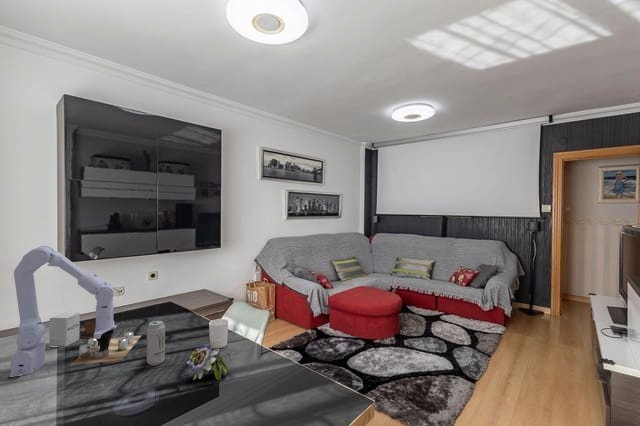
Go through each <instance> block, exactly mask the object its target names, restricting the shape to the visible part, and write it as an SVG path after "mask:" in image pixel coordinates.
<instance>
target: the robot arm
mask: <svg viewBox="0 0 640 426" xmlns="http://www.w3.org/2000/svg"><path fill="white" fill-rule="evenodd" d="M47 263H48V264H47ZM46 264H47V267H56V268H59V269H61V270H62V271H64V272H66V273H68V274H69V275H70V276H72V277H73V278H75V279H76V280H77V285H78V286H80V287H81V288H82V289H84V290H85V291H86V292H88V293H89V294H91V295H93V296H94V297H95V300H96V305H95V320H96V328H95V333H94V339H97V341H98V343H99V346H100V348H104V347H108V348H109V344H110V340H111V338H113V334H114V333H115V329H116V328H117V327H118V325H117V324H115V320H114V295H115V294H114V291H115V290H114V288H113V287H112V285H111V284H109V283H108V282H107V281H103V280H102V279H100V278H99V277H98V274H97V273H93V272H85V271H83V270H82V268H81V267H78V266H77V265H76V264H75V263H74V262H72V261H71V260H70V259H69V258H67V257H66V256H65V255H64V254H63V253H61V252H60V251H57V250H55V249H53V248H52V247H51V246H49V245H41V246H38V247H36V248H33V249H31V250H29V251H28V252H27V253H25V254H24V255H23V256H22V258H21V260H20V261H19V263H17V265H16V267H15V269H14V270H13V277H14V286H15V292H16V298H17V307H18V315H19V326H18V334H17V337H16V341H15V342H16V345H17V349H16V352H15V354H13V356H12V357H11V358H10V375H11V376H17V375H20V374H24V373H32V372H33V371H35V370H36V369H37V370H39V369H40V368H39V367H41V366H43V365H44V364H45V365H46V340H45V338H44V337H43V336H44V335H45V333H46V331H47V328H46V327H47V326H46V325H45V324H44V323H43V322H42V318H41V316H40V313H39V305H38V299H37V290H36V283H35V278H34V277H35V276H34V273H36V271H38V270H39V269H40V268H41V267H42V266H44V265H46ZM45 365H44V366H45ZM44 366H43V367H44ZM38 368H39V369H38ZM41 368H42V367H41ZM37 370H36V371H37ZM36 371H35V372H36ZM33 373H34V372H33ZM33 373H32V374H33Z"/></svg>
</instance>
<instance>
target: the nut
mask: <svg viewBox="0 0 640 426" xmlns="http://www.w3.org/2000/svg"><path fill="white" fill-rule="evenodd" d="M107 356H109V349H108V347H104V348H99V349H96V350H94V351H93V357H94V359H102V358H104V357H107Z"/></svg>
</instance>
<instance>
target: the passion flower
mask: <svg viewBox="0 0 640 426" xmlns="http://www.w3.org/2000/svg"><path fill="white" fill-rule="evenodd" d="M213 345H214V342H213V341H211V342H210V341H209V343H208V344H207V343H205V344H204V343H203V344H202V346H200V347H196V348H195V349H194V350H193V351H192V353H191V355H190V357H189V360H187V361H186V364H187V365H189V368H190V370H191V373H190V374H191V375H193V378H192V380H193V381H195V380H197V379H199V380H202V379H203V377H204V376H205V371H209V372H210V371H211V370H213V373H214V377H215V380H216V381H219V382H220V381H221V377H222V370H223V374H224V376H226V375H227V373H228V366H227V363H225V360H224V358H223V357H225V356H227V355H228V357H229V360H230V362H232V361H233V357H232V355H231V352H229V353H227V354H224V355H222V356H218V357H216V356H217V355H218V354H219V352H220V348H214V349H213V348H212V347H213ZM220 366H221V367H220Z"/></svg>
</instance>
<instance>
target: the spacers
mask: <svg viewBox="0 0 640 426" xmlns="http://www.w3.org/2000/svg"><path fill="white" fill-rule="evenodd" d="M133 336H134V332H133V331H127V332H124V333H123V337H124V338H121V339H119V340H118V351H124V350H127V349H128V344H130V343H133ZM87 340H88V341H87V343H86V344H81V345H80V346H79V356H80V358H86V357H89V356H90V355H91V350H95V349H97V348H98V341H97V339H94V337H93V338H87Z"/></svg>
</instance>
